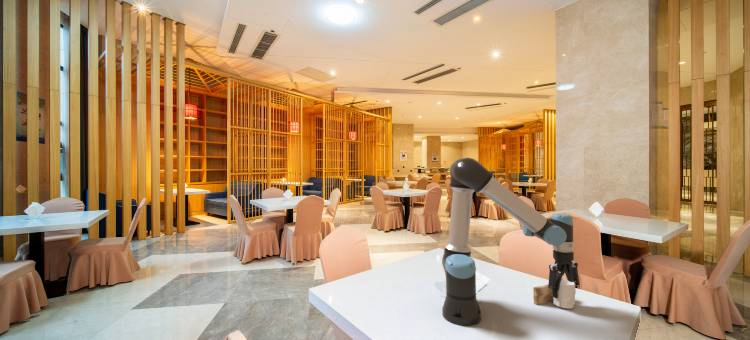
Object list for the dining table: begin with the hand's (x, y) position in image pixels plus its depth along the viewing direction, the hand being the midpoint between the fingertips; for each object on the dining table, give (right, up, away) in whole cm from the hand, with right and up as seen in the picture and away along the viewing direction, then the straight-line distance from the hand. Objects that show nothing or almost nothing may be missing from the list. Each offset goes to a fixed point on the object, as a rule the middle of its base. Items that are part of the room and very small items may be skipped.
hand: (564, 303), depth 124 cm
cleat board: (-3, -1, +4) cm, 5 cm away
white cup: (0, -1, 0) cm, 1 cm away
